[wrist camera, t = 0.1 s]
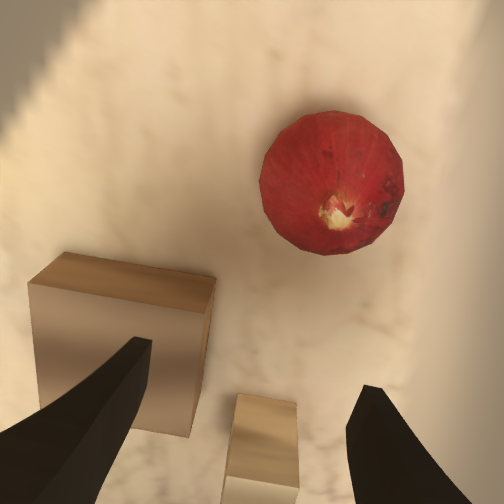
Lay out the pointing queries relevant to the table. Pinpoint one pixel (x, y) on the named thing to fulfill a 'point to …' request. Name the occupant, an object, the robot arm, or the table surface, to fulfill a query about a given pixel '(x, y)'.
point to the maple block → (262, 453)
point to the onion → (331, 183)
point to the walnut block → (122, 331)
